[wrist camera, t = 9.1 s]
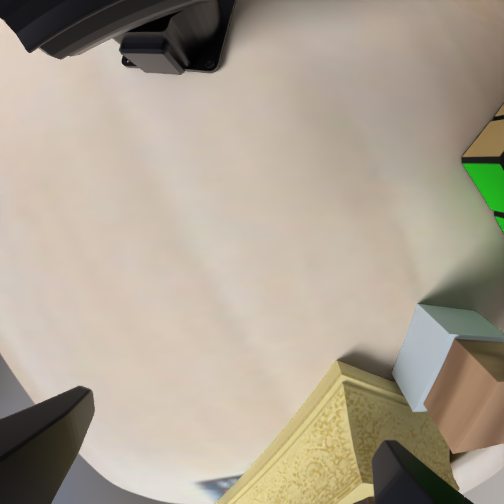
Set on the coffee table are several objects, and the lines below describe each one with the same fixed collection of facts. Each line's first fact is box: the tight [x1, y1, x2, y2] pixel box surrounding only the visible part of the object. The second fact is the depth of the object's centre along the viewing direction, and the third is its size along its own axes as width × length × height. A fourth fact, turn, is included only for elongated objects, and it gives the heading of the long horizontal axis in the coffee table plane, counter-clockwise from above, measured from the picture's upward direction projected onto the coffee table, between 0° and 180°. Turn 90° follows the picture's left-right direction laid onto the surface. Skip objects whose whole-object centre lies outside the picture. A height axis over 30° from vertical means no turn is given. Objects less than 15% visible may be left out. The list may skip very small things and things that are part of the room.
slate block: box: [391, 303, 504, 412], centre depth 19 cm, size 6×6×5 cm
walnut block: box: [423, 338, 504, 454], centre depth 14 cm, size 5×5×5 cm
